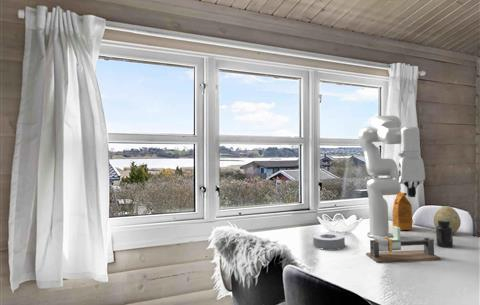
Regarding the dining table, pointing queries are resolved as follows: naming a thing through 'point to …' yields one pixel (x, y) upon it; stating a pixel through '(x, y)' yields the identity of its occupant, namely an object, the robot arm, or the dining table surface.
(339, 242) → the tape roll
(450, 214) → the fossilized egg
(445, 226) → the supplement bottle
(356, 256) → the dining table surface
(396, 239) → the mint green stepped block
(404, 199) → the coffee package
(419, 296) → the dining table surface
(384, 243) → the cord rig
